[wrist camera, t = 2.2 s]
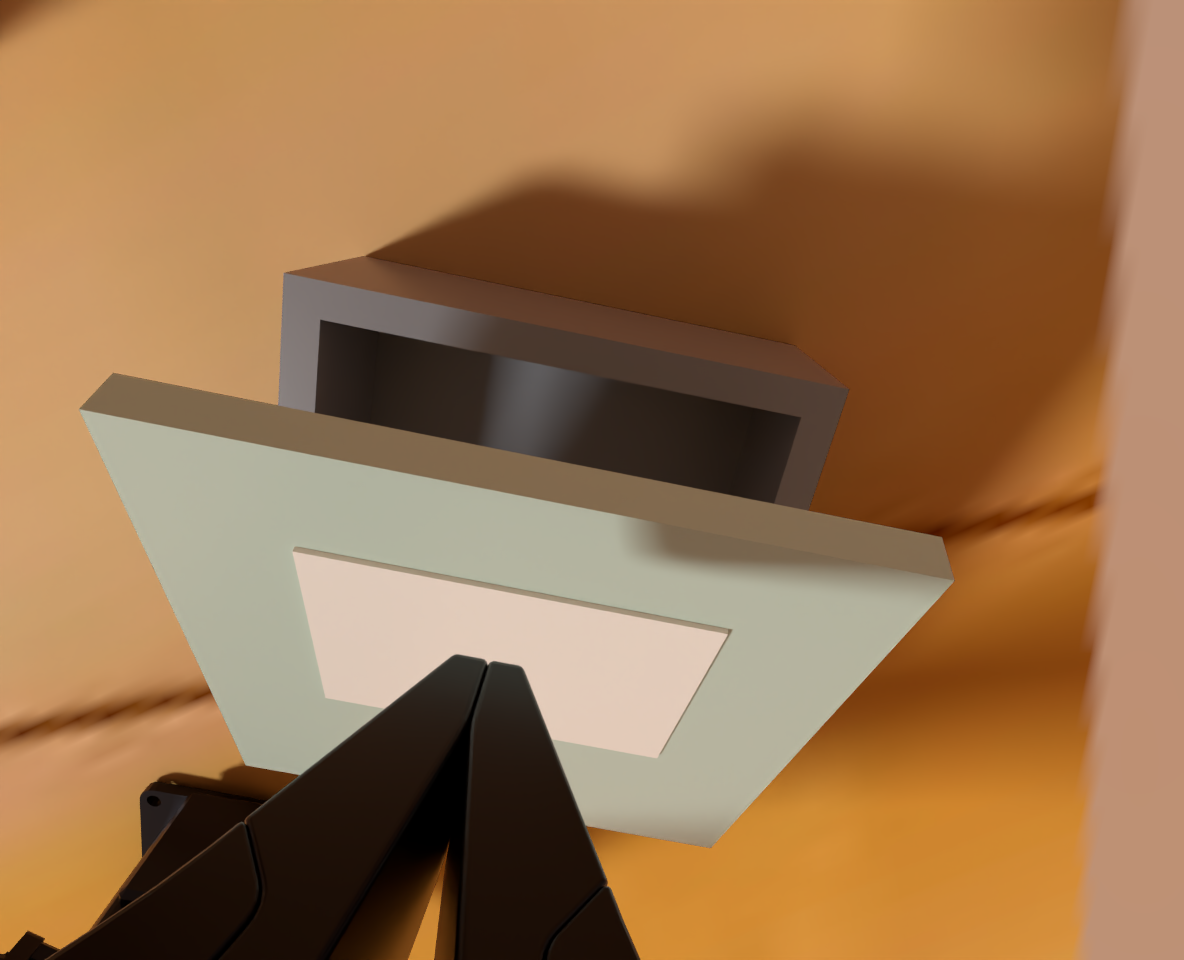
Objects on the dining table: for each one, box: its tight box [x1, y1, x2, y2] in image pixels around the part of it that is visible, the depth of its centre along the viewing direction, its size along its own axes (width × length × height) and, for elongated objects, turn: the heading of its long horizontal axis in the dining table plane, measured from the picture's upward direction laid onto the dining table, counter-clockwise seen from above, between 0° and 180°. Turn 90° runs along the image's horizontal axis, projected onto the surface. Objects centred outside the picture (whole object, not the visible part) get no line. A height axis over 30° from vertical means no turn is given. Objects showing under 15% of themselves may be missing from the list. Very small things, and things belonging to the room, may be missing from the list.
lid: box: [79, 373, 955, 848], centre depth 14 cm, size 12×12×1 cm
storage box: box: [278, 256, 849, 511], centre depth 19 cm, size 12×12×5 cm
